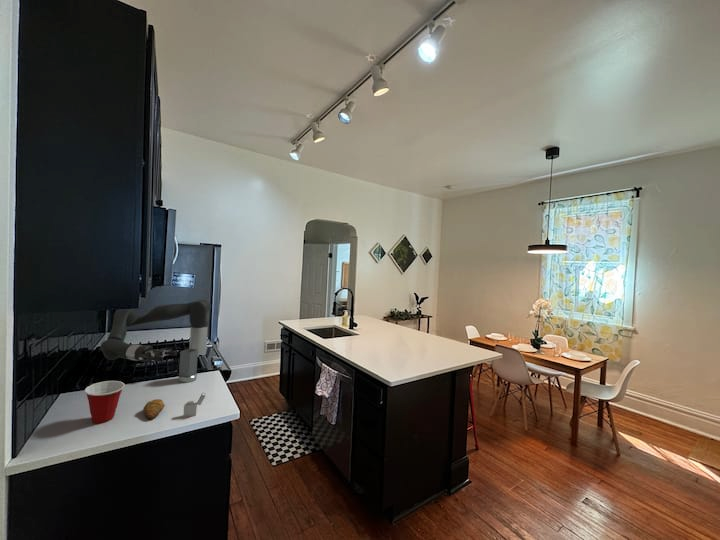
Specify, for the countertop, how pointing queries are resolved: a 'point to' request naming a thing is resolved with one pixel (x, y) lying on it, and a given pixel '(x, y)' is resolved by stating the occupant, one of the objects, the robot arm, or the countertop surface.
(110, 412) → the plastic cup
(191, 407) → the lighter
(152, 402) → the croissant
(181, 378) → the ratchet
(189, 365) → the gray rectangular block
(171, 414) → the countertop surface
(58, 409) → the countertop surface
